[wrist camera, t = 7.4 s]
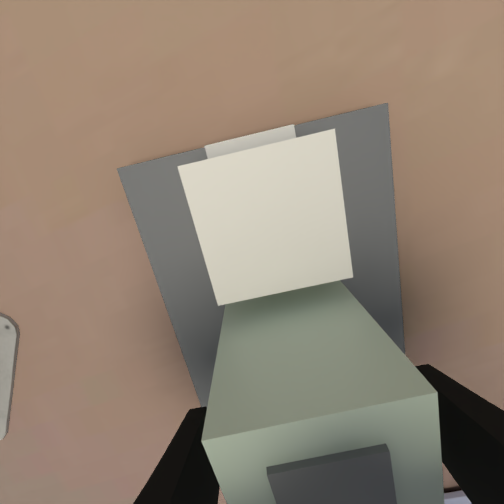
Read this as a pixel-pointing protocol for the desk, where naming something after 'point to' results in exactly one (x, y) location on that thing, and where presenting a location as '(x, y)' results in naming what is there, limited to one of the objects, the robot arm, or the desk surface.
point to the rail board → (190, 261)
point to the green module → (319, 406)
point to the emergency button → (7, 368)
